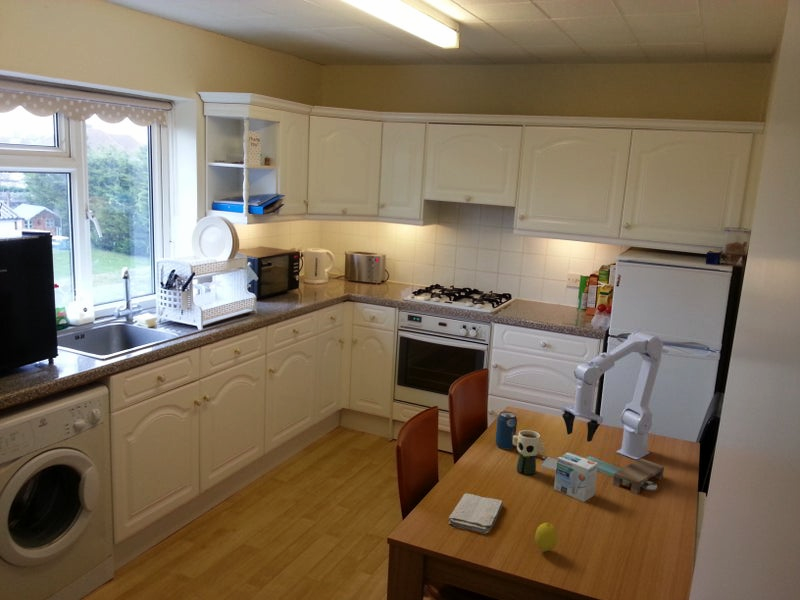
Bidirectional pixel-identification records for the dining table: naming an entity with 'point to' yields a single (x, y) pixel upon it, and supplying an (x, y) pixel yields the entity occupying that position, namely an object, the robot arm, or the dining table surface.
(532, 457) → the character mug
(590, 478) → the light bulb box
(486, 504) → the washcloth
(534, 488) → the dining table surface
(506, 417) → the soda can
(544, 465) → the kitchen cleaver
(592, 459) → the slat
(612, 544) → the dining table surface
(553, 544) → the lemon
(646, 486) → the steel disc
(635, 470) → the shelf
